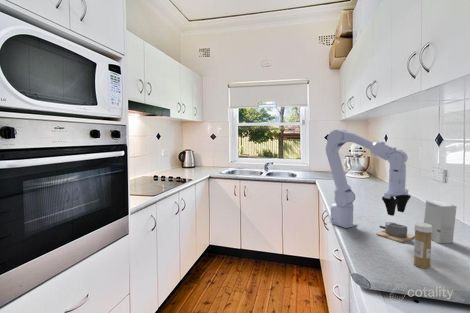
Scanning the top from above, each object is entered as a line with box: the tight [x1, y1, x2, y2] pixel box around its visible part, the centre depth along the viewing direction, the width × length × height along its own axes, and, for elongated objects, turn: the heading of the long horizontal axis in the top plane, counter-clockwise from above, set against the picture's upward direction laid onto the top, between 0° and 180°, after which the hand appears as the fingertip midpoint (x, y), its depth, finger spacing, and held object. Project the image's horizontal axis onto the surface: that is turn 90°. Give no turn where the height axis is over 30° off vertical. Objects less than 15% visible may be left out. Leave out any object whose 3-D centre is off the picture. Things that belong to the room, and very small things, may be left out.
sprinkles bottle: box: [413, 221, 432, 270], centre depth 82 cm, size 5×5×13 cm
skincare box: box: [423, 199, 457, 244], centre depth 101 cm, size 8×6×15 cm
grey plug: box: [379, 221, 408, 238], centre depth 107 cm, size 10×4×4 cm, turn 32°
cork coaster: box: [376, 229, 415, 244], centre depth 106 cm, size 10×10×1 cm
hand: (395, 213), depth 105 cm, fingers open, 7 cm apart
